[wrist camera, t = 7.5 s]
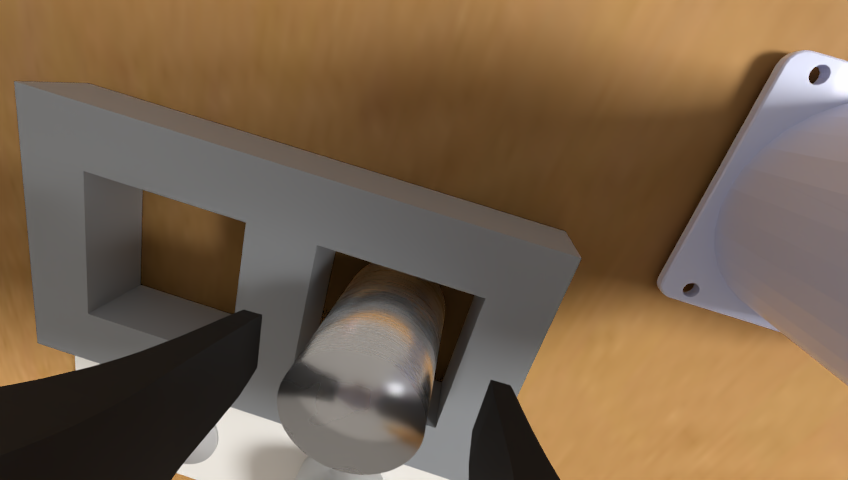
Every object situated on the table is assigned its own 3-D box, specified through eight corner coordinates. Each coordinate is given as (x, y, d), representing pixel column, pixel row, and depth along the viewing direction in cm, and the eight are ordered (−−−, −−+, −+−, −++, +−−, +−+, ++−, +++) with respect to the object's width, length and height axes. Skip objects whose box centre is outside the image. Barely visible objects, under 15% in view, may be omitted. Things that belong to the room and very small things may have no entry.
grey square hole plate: (565, 231, 14) (581, 258, 12) (475, 436, 18) (474, 487, 16) (88, 83, 15) (14, 81, 12) (94, 311, 18) (37, 343, 16)
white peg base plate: (468, 452, 18) (464, 545, 14) (431, 536, 20) (420, 636, 17) (94, 329, 19) (-2, 388, 15) (97, 424, 21) (13, 496, 17)
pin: (454, 271, 15) (438, 373, 10) (435, 357, 17) (411, 489, 11) (352, 249, 16) (280, 335, 10) (341, 336, 17) (273, 454, 11)
